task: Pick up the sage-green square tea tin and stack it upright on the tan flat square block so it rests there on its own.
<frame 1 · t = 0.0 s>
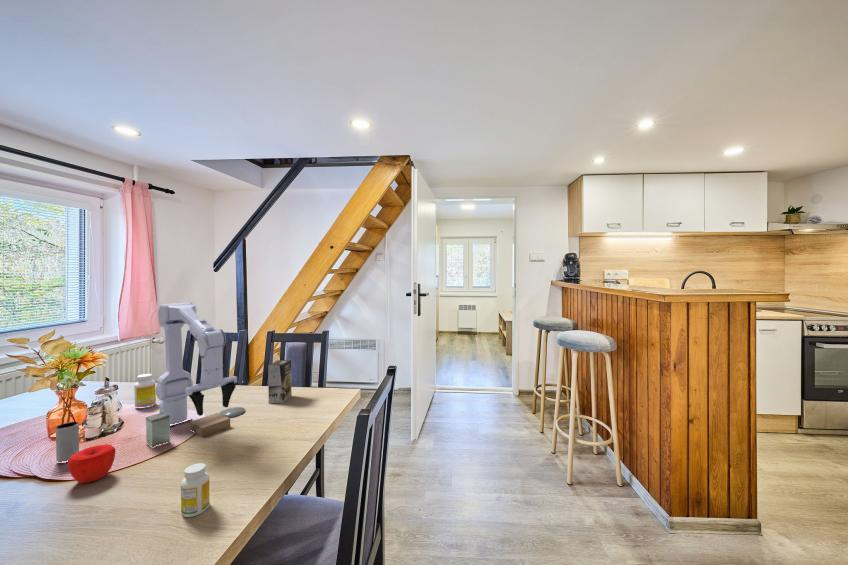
hand: (213, 410, 107), 10 cm above the table, fingers open, 7 cm apart
supplement bottle: (195, 510, 76), on the table
apple: (93, 479, 88), on the table
tea tin: (158, 443, 107), on the table
supplement bottle 2: (145, 406, 138), on the table
tan flat square block: (210, 428, 117), on the table
slate coaster: (231, 413, 130), on the table
coffee box: (280, 399, 144), on the table
grey tin can: (68, 460, 97), on the table
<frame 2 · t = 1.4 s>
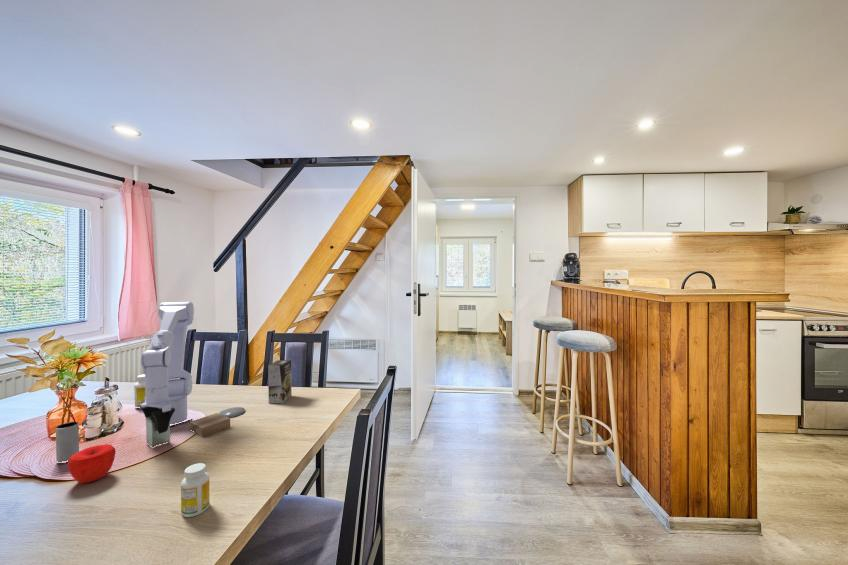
hand: (157, 429, 106), 5 cm above the table, fingers open, 7 cm apart
nothing on the table moved.
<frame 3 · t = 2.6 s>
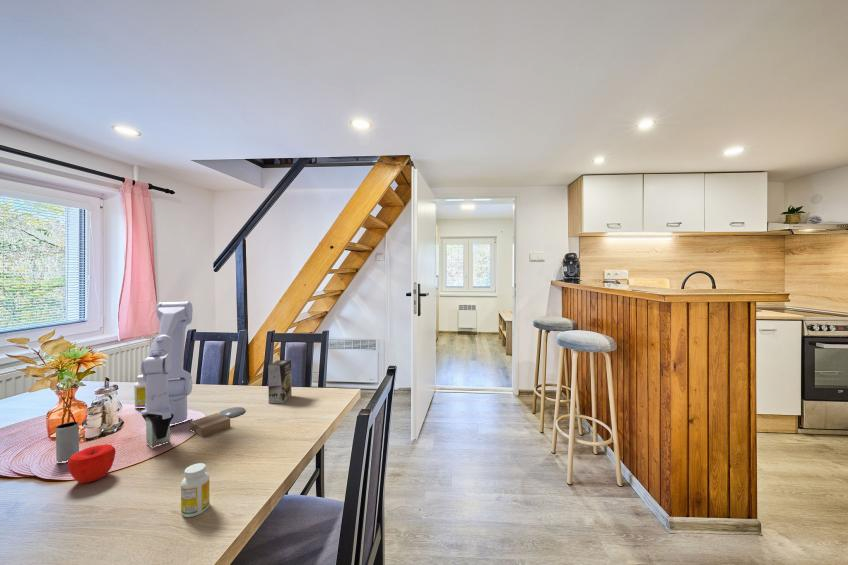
hand: (158, 436, 107), 2 cm above the table, fingers closed on tea tin, 5 cm apart
tea tin: (158, 443, 107), on the table, touching gripper
everything else where it was.
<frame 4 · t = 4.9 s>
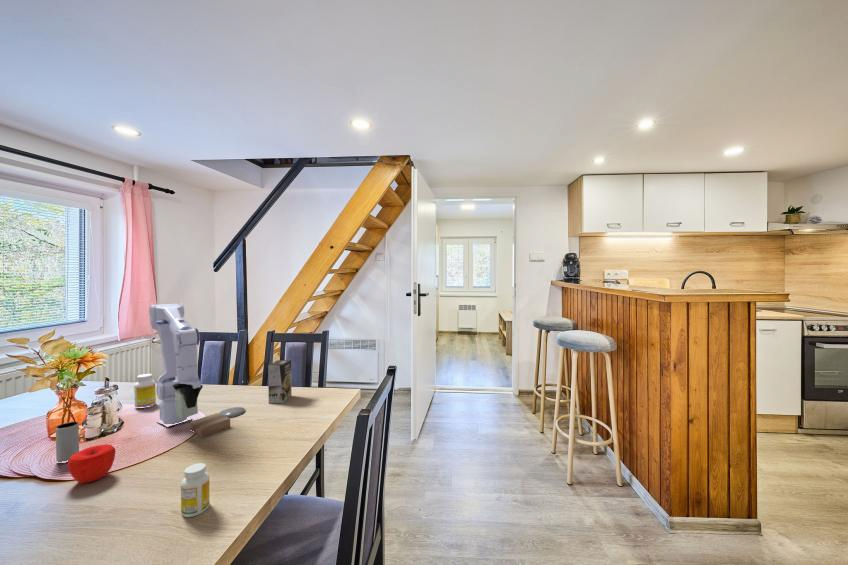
hand: (188, 405, 112), 10 cm above the table, fingers closed on tea tin, 5 cm apart
tea tin: (187, 414, 112), point 7 cm above the table, touching gripper
everything else where it was.
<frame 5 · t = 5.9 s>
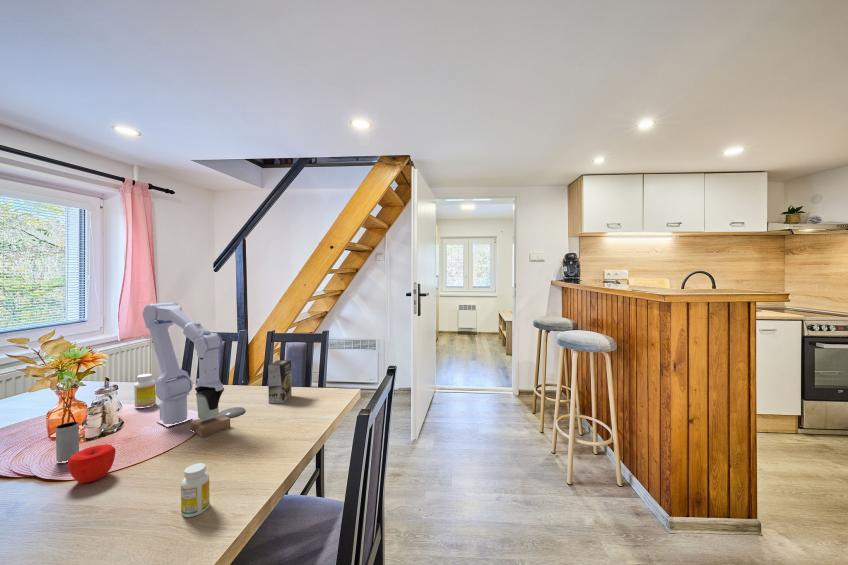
hand: (209, 407, 117), 7 cm above the table, fingers closed on tea tin, 5 cm apart
tea tin: (208, 416, 116), point 4 cm above the table, touching gripper
everything else where it was.
when the fingers open (6 cm above the table, at t = 7.0 s): tea tin stays where it is, resting on tan flat square block.
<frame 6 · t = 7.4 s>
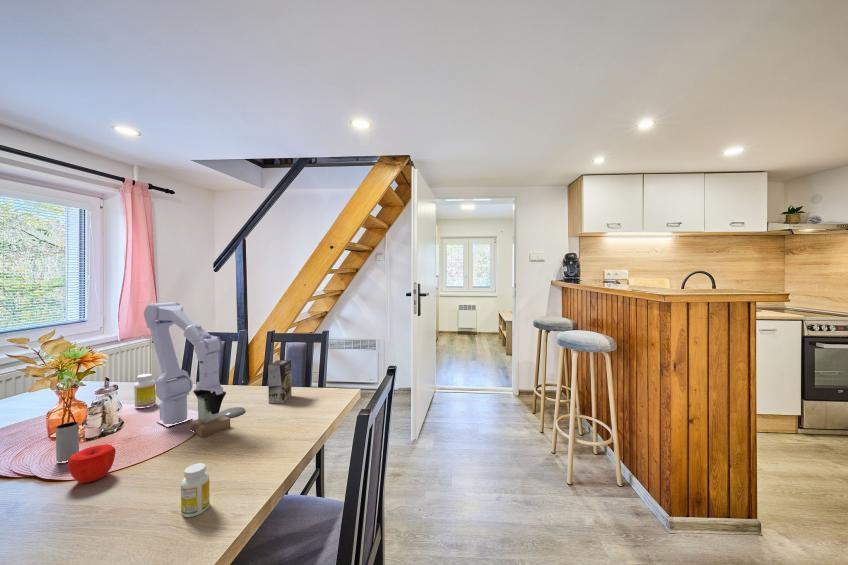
hand: (209, 411, 117), 6 cm above the table, fingers open, 7 cm apart
tea tin: (208, 420, 116), point 3 cm above the table, touching tan flat square block
everything else where it was.
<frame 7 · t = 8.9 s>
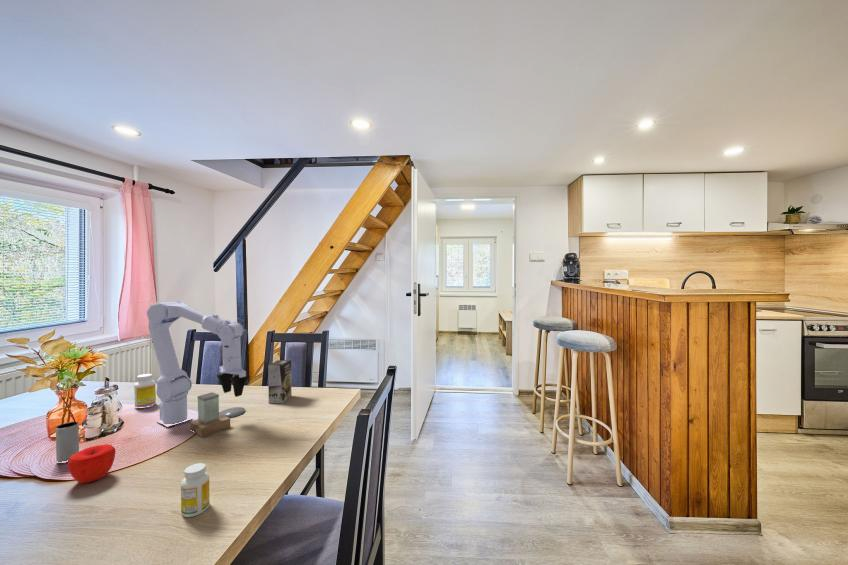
hand: (232, 393, 121), 11 cm above the table, fingers open, 7 cm apart
nothing on the table moved.
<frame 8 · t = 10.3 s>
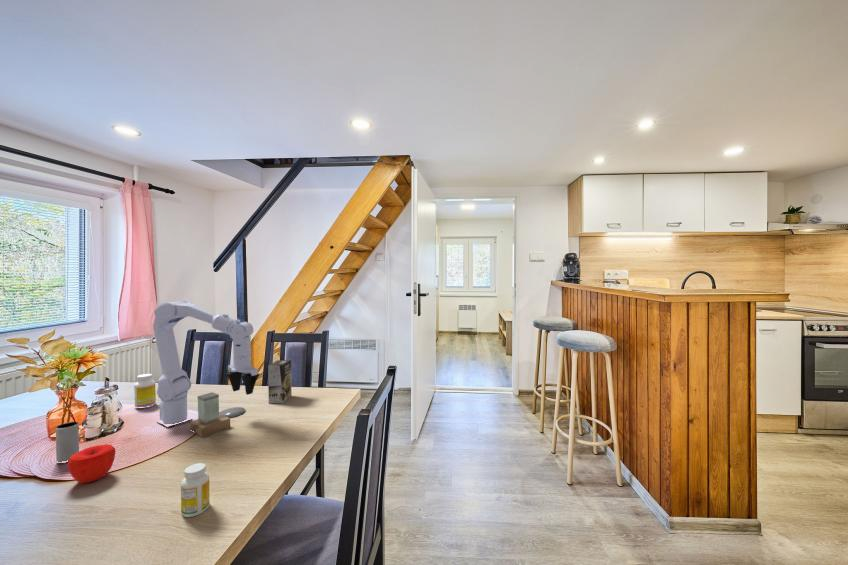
hand: (242, 392, 123), 10 cm above the table, fingers open, 7 cm apart
nothing on the table moved.
at the end: tea tin inside the target area on the tan flat square block (0.4 cm from its centre), point 3.0 cm above the tan flat square block's base; tea tin tilted 0°; the gripper is holding nothing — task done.
